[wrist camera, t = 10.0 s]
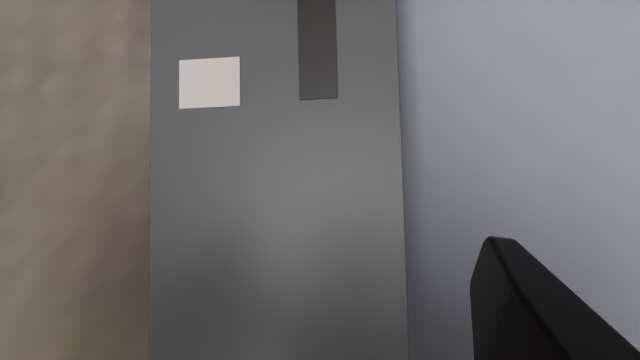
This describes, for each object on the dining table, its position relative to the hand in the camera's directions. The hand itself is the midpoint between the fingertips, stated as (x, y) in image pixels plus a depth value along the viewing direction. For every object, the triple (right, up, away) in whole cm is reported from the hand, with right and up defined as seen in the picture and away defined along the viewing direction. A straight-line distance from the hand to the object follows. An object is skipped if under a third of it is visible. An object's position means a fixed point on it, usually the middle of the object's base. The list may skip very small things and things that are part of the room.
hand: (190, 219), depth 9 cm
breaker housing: (+1, 0, +12) cm, 12 cm away
